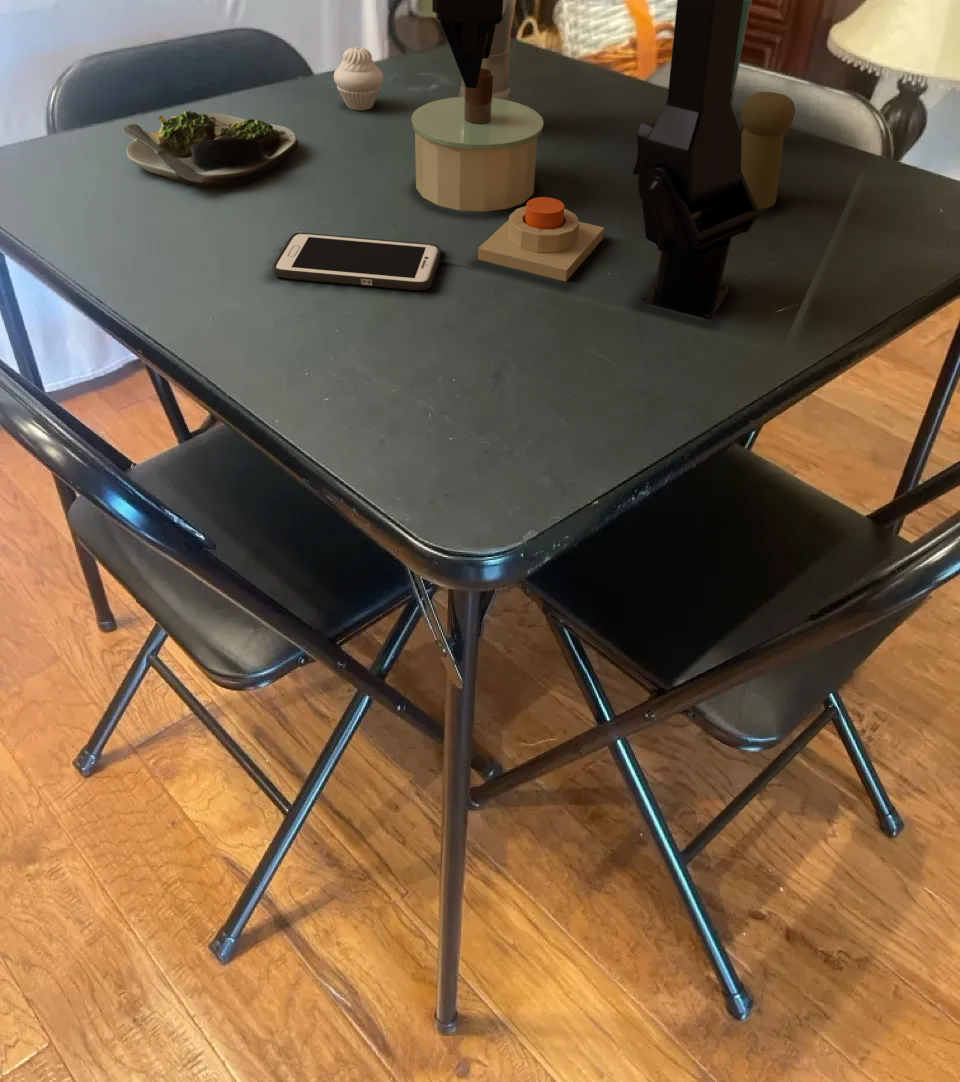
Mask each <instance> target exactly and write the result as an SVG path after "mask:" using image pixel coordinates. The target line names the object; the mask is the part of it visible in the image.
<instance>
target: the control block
mask: <svg viewBox="0 0 960 1082" xmlns="http://www.w3.org/2000/svg"><path fill="white" fill-rule="evenodd" d="M508 216H509V217H508V220H507V221H505V223H504V224H502V225H501V226H500V227H499V228H498V229H497V230H496V231H495V232H494V233H493V234H492V235H490V237H488V239H486V240H485V241H484V242H483V243H482V244H481V245H480V246H479V247H478V254H477V259H478V260H479V261H483V262H487V263H491V264H495V265H499V266H503V267H506V268H511V269H514V270H519V271H523V272H527V273H530V274H534V275H538V276H542V277H546V278H549V279H550V278H551V279H554V280H558V281H562V282H567V281H568V280H569V279H570V278H571V276H573V274H574V273H575V272H576V271H577V270H578V269H579V268H580V266H581V265H582V264H583V263H584V262H585V260H586V259H587V258H588V257H589V255H591V254H592V252H593V251H594V250H595V249H596V247H597V246H598V245H599V244H600V243H601V242H602V240H603V239H604V234H605V233H604V232H605V227H603V226H600V225H599V226H598V225H595V224H591V223H587V222H582V221H580V220H579V219H578V216H577V214H575V213H573V212H572V211H570V210H568V209H567V208H564V218H563V225H562V227H559V228H556V229H538V228H533V227H530V226H528V225H527V224H526V223H525V217H526V205H525V206H522V207H518V208H516V209H515V210H514V211H513V212H512V213H511V214H510V215H508Z"/></svg>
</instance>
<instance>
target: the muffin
mask: <svg viewBox="0 0 960 1082" xmlns="http://www.w3.org/2000/svg"><path fill="white" fill-rule="evenodd" d="M333 80H334V83H335V85H336V88H337V91H338V92H339V94H340V96H341V98H342V99H343V101H344V103H345V105H346V107H347V108H348V109H350V110H353V111H367V110H370V109H372V108H373V107H374V105H375V103H376V100H377V98H378V95H379V94H380V91H381V89H382V84H383V81H384V74H383V71H382V70H381V69H380V68H379V66H377V65H376V63H375V62H374V60H373V55H372V53H371V52H370V51H369V50H368V49H367V48H365V47H361V46H360V47H359V46H357V45H356V46H353V47H349V48H348V49H346V50H345V51H344V52H343V55H342V60H341V62H340V64H339V66H338V67H337V68H336V69H335V71H334V73H333Z"/></svg>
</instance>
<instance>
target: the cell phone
mask: <svg viewBox="0 0 960 1082" xmlns="http://www.w3.org/2000/svg"><path fill="white" fill-rule="evenodd" d="M441 256H442V249H441V247H440V246H439V245H438V244H433V243H425V242H416V241H415V242H414V241H402V240H392V239H379V238H370V237H369V238H368V237H358V236H357V237H356V236H346V235H336V234H323V233H314V232H313V233H312V232H295V233H292V234H291V235H290V237H289V238H288V240H287V241H286V243H285V244H284V245H283V248H282V249H281V251H280V252H279V254H278V256H277V258H276V259H275V260H274V262H273V265H272V273H273V275H274V276H275V277H277V278H281V279H289V280H290V279H291V280H300V281H309V282H310V281H311V282H322V283H333V284H344V285H354V286H364V287H365V286H366V287H376V288H386V289H387V288H388V289H400V290H411V291H426V290H428V289H430V287H431V286H432V285H433V282H434V278H435V276H436V273H437V269H438V266H439V263H440V260H441Z"/></svg>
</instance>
